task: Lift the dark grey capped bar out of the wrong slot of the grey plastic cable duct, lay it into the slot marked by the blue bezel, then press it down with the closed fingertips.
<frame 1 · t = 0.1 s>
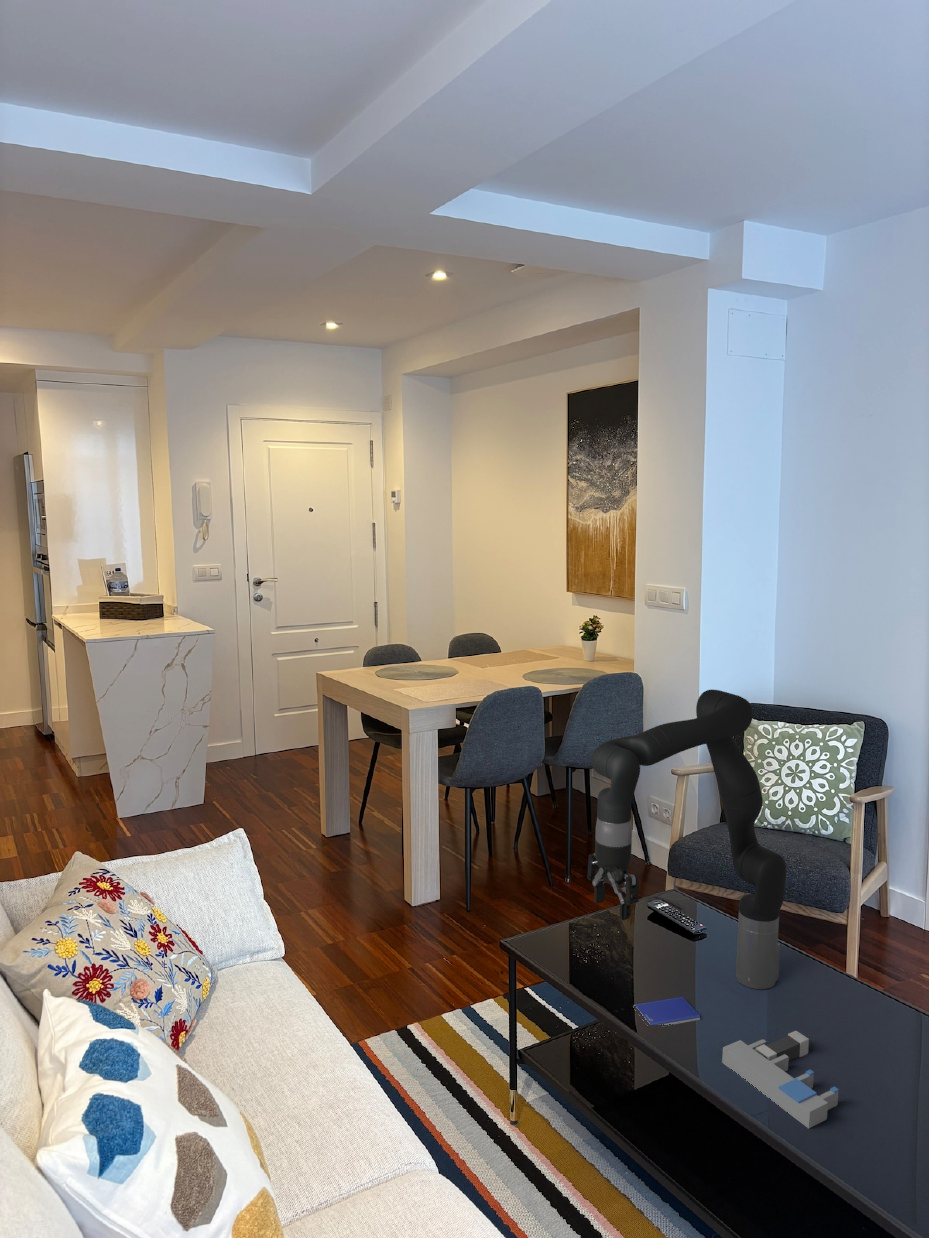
hand: (611, 910, 192), 29 cm above the table, fingers open, 8 cm apart
cable duct: (782, 1084, 181), on the table
hard drive: (666, 1016, 205), on the table
dark grey capped bar: (781, 1058, 189), on the table
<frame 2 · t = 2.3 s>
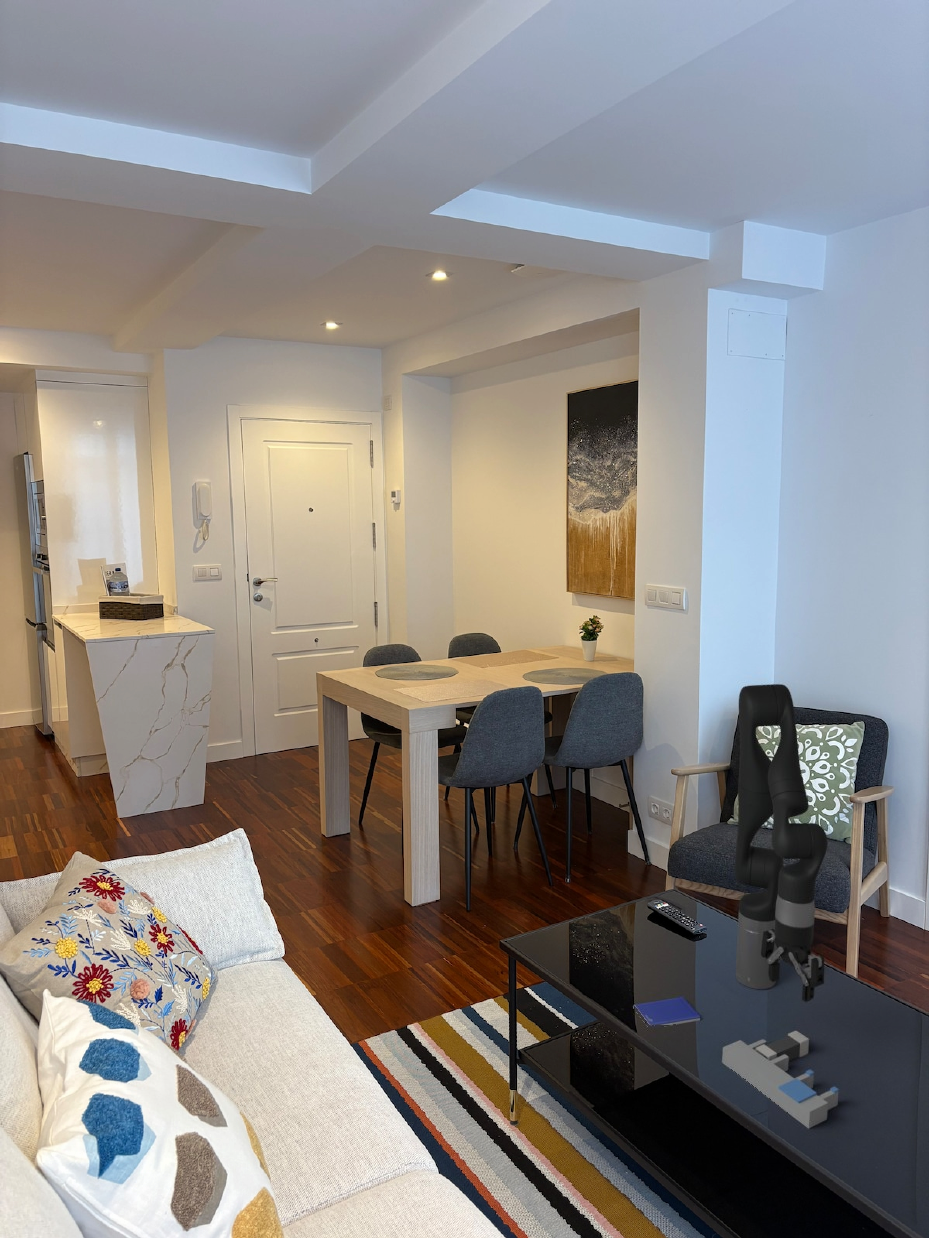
hand: (790, 990, 187), 15 cm above the table, fingers open, 8 cm apart
nothing on the table moved.
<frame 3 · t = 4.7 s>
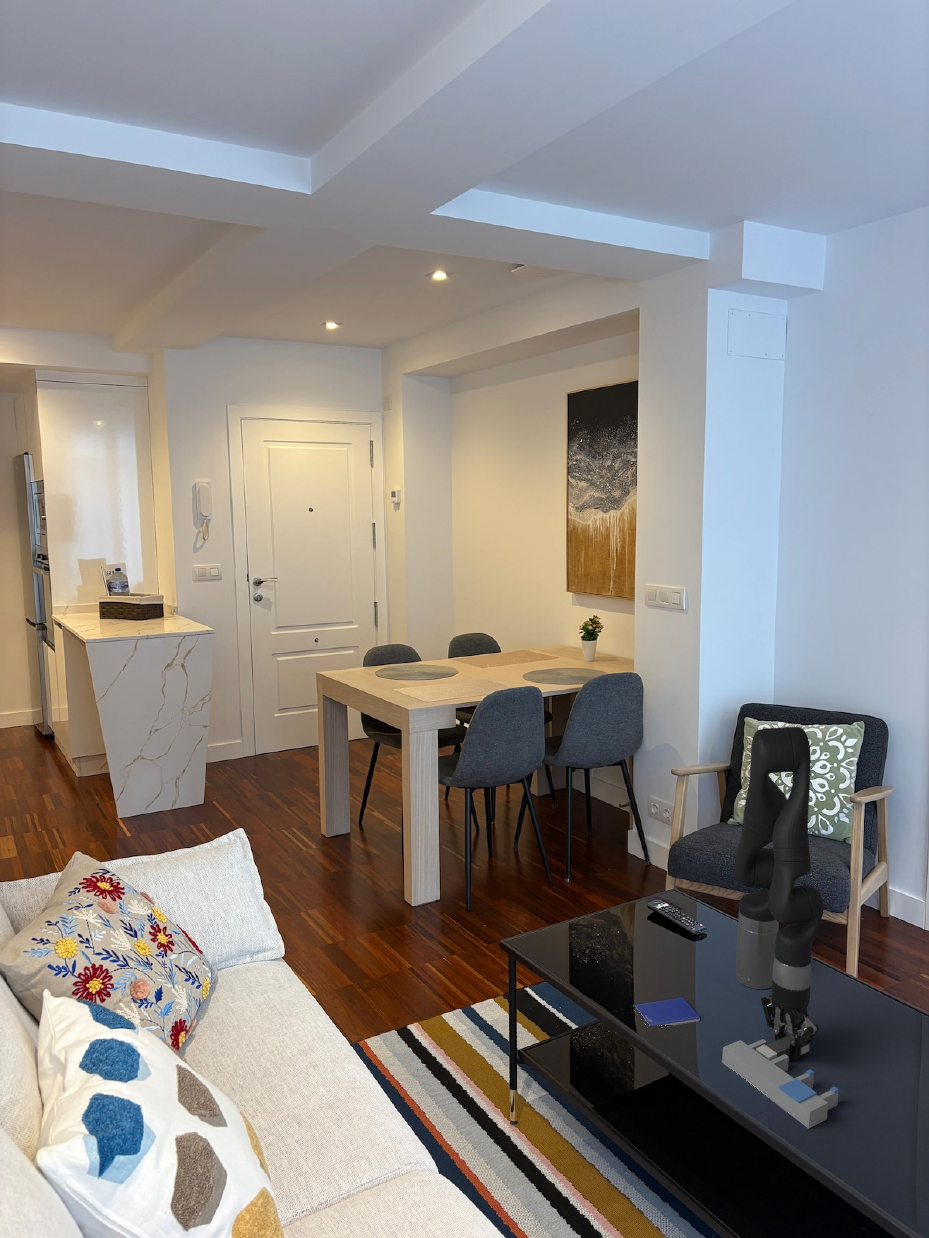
hand: (786, 1053, 190), 0 cm above the table, fingers closed on dark grey capped bar, 3 cm apart
dark grey capped bar: (782, 1056, 189), on the table, touching gripper
everything else where it was.
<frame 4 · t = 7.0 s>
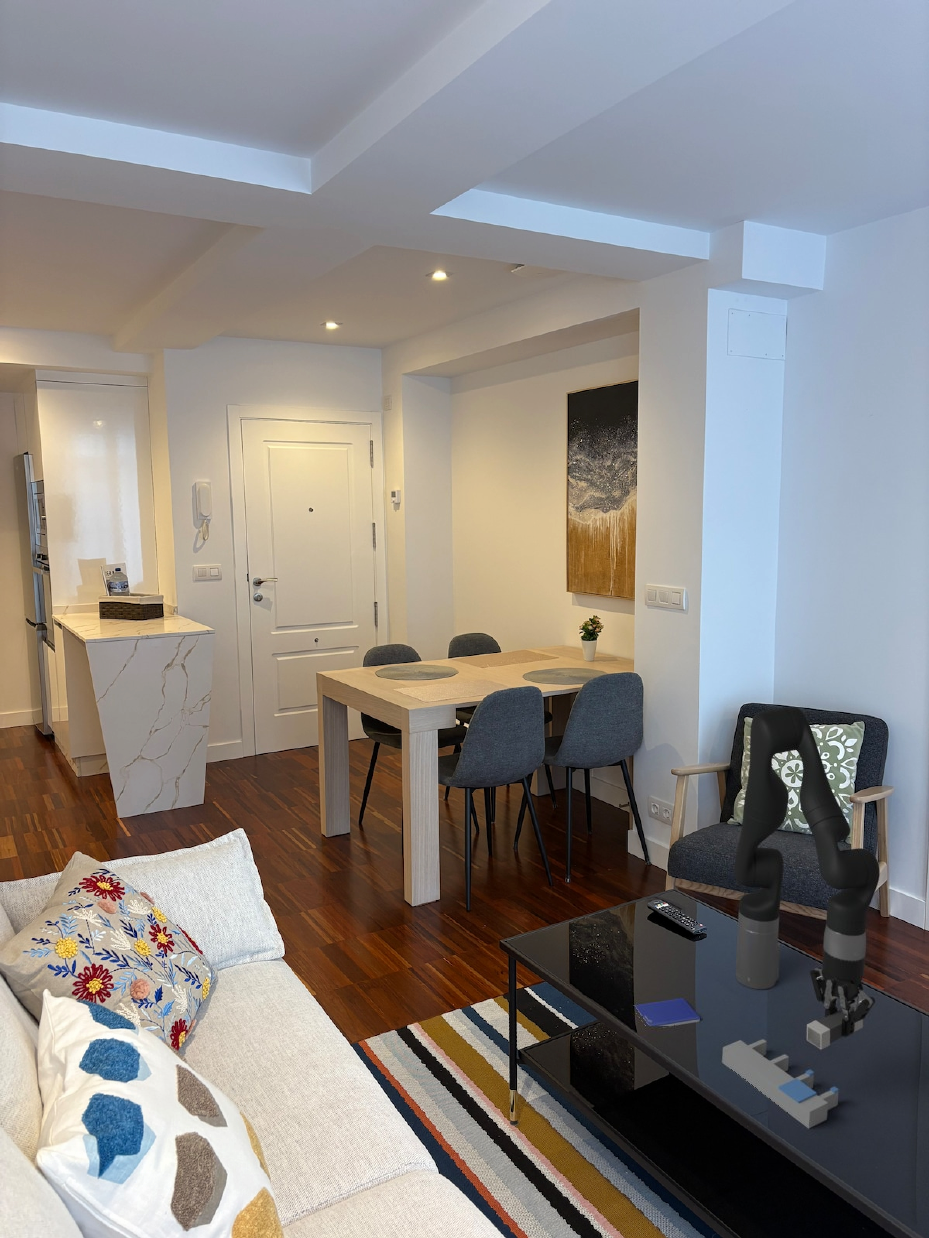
hand: (838, 1029, 177), 13 cm above the table, fingers closed on dark grey capped bar, 3 cm apart
dark grey capped bar: (835, 1033, 177), point 12 cm above the table, touching gripper
everything else where it was.
when the fingers open (1 cm above the table, at t = 9.7 s): dark grey capped bar stays where it is, on the table.
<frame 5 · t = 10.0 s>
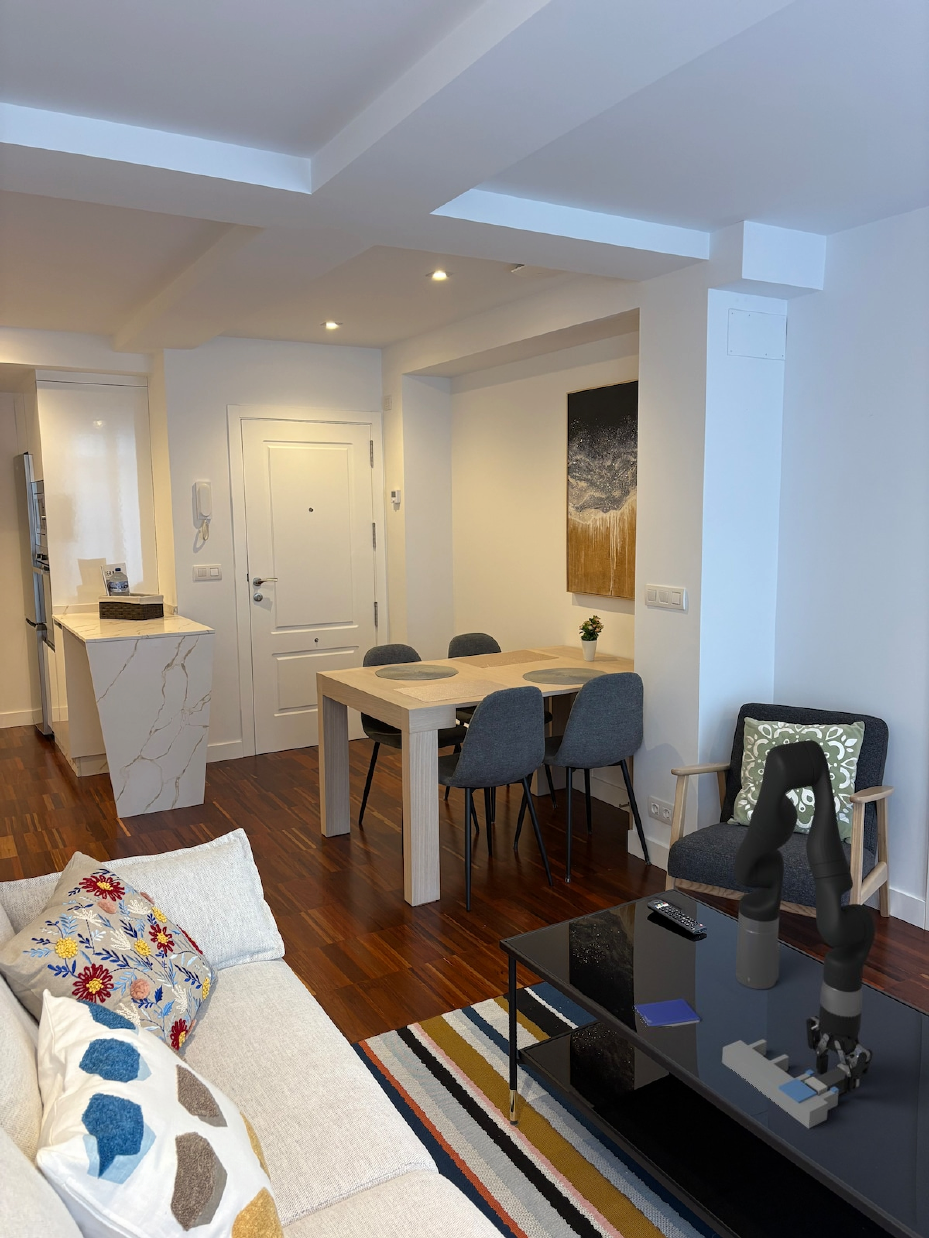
hand: (835, 1081, 179), 2 cm above the table, fingers open, 5 cm apart
dark grey capped bar: (831, 1090, 179), on the table
everything else where it was.
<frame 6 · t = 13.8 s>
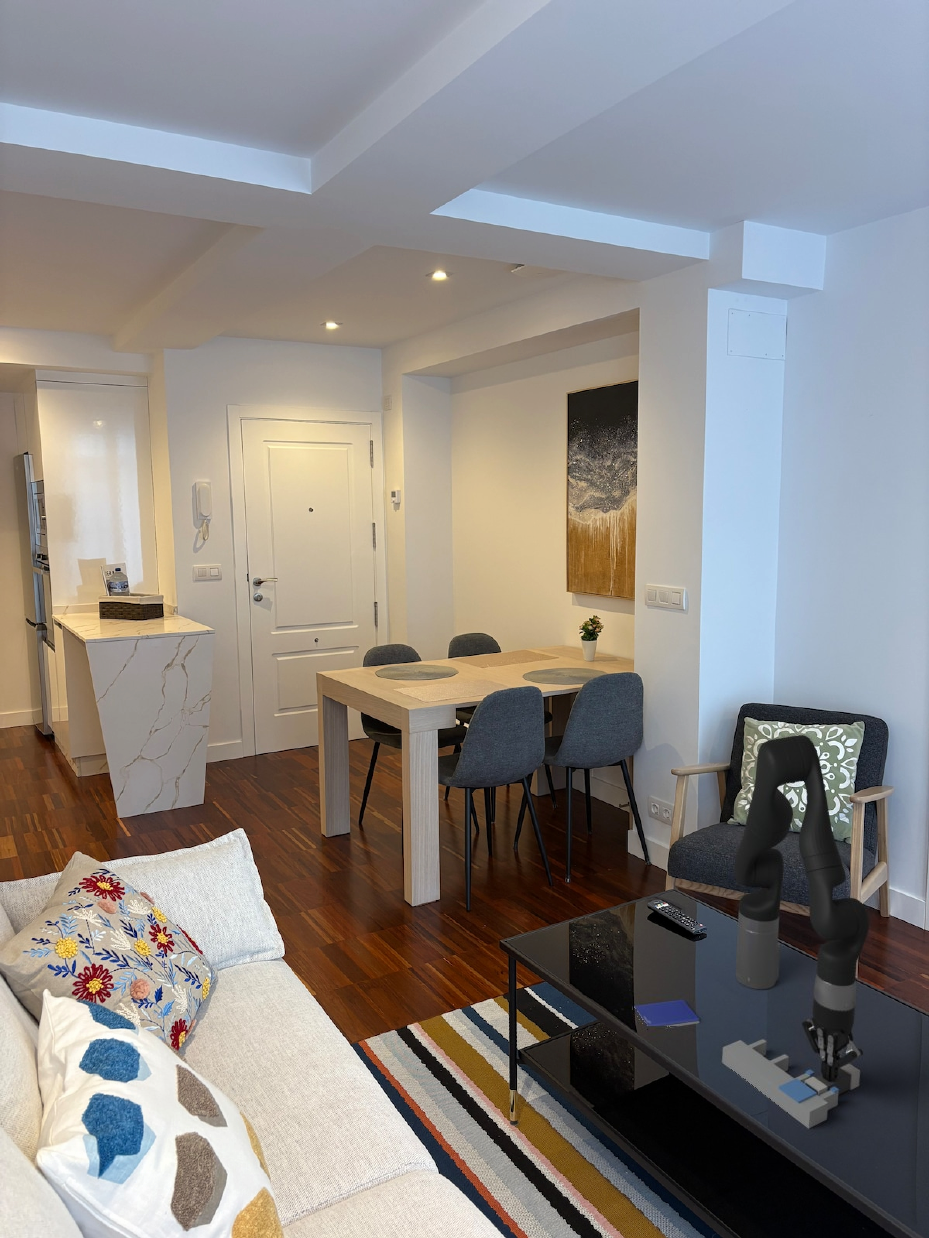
hand: (828, 1078, 178), 3 cm above the table, fingers closed
dark grey capped bar: (831, 1090, 179), on the table, touching gripper
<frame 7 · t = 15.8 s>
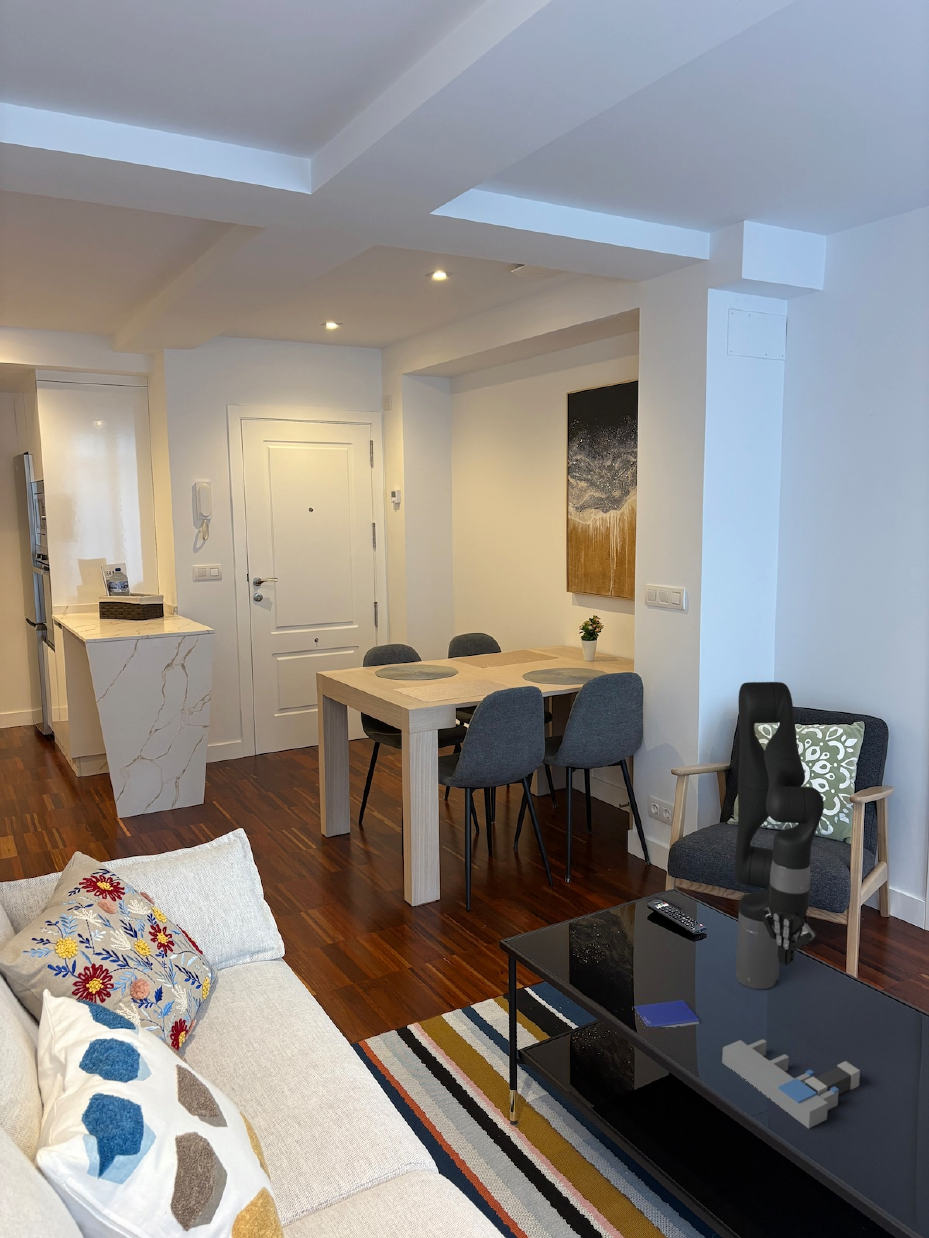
hand: (785, 962, 182), 23 cm above the table, fingers closed
dark grey capped bar: (831, 1090, 179), on the table
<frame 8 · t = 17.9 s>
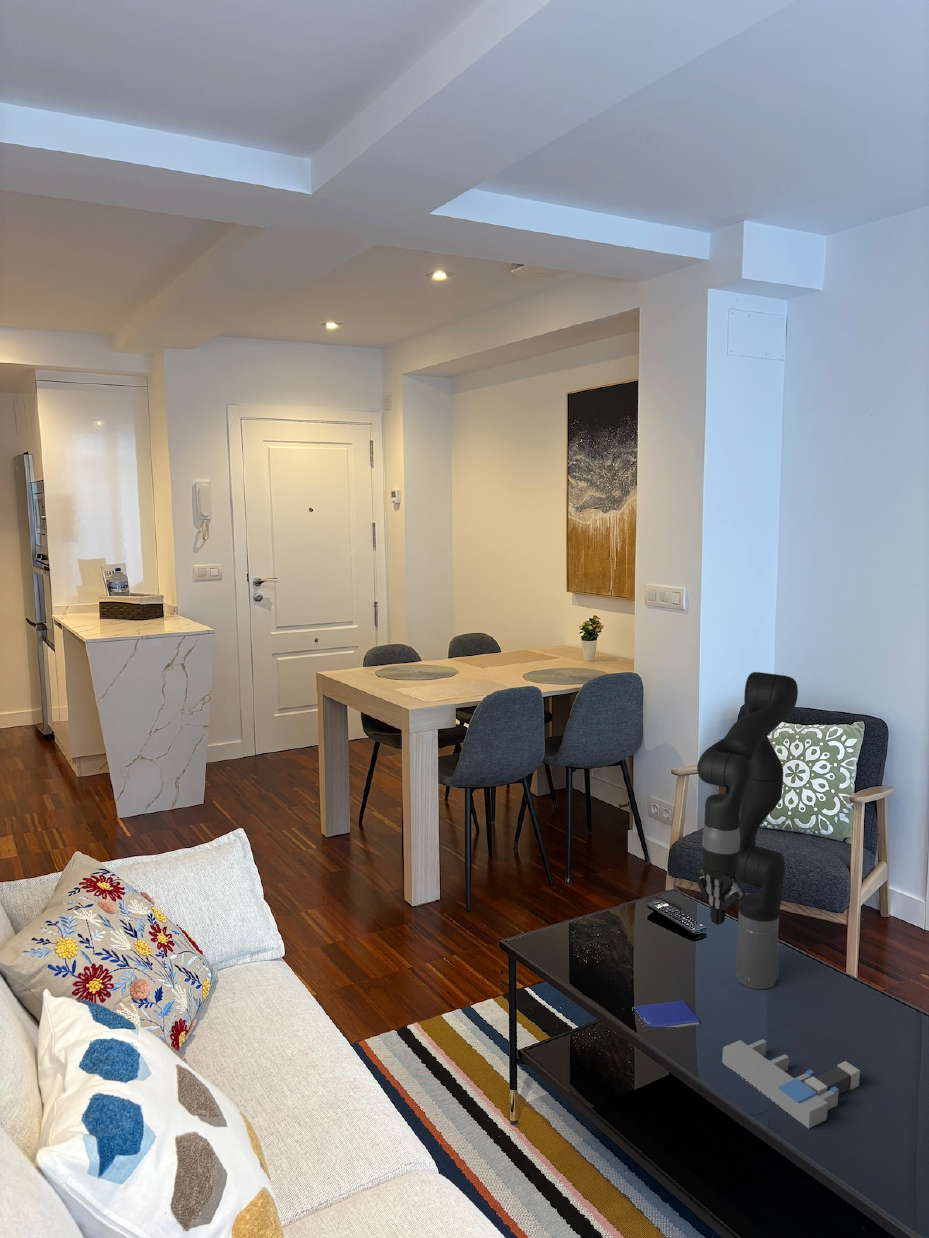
hand: (717, 922, 191), 27 cm above the table, fingers closed
at the end: dark grey capped bar 0.3 cm from the target spot on the table beside the cable duct, on the table; the gripper is holding nothing; dark grey capped bar tilted 0° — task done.
